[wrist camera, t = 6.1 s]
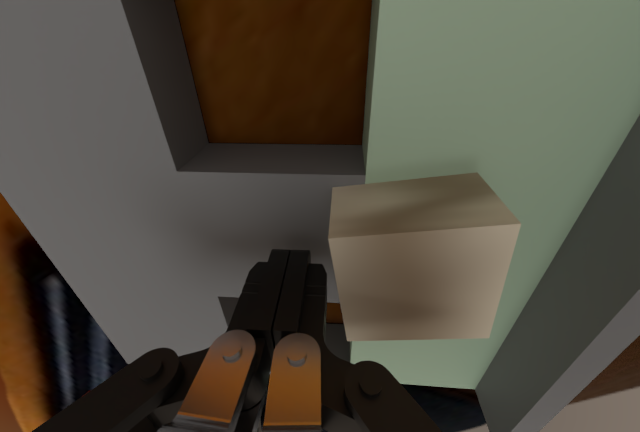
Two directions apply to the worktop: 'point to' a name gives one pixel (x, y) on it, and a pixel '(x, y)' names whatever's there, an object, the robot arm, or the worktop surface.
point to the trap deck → (340, 178)
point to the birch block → (420, 257)
